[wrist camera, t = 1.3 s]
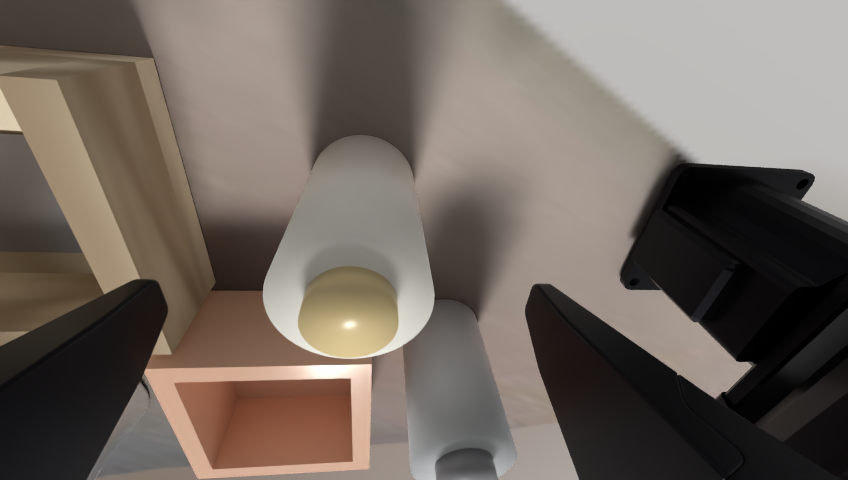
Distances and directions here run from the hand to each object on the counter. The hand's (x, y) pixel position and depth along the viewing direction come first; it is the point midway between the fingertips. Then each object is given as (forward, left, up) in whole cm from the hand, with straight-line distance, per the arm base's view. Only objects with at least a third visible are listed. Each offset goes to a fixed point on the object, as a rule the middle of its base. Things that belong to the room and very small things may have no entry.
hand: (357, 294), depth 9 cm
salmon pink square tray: (+4, +9, -6) cm, 12 cm away
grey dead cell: (-4, +8, -7) cm, 11 cm away
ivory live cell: (0, 0, -7) cm, 7 cm away
